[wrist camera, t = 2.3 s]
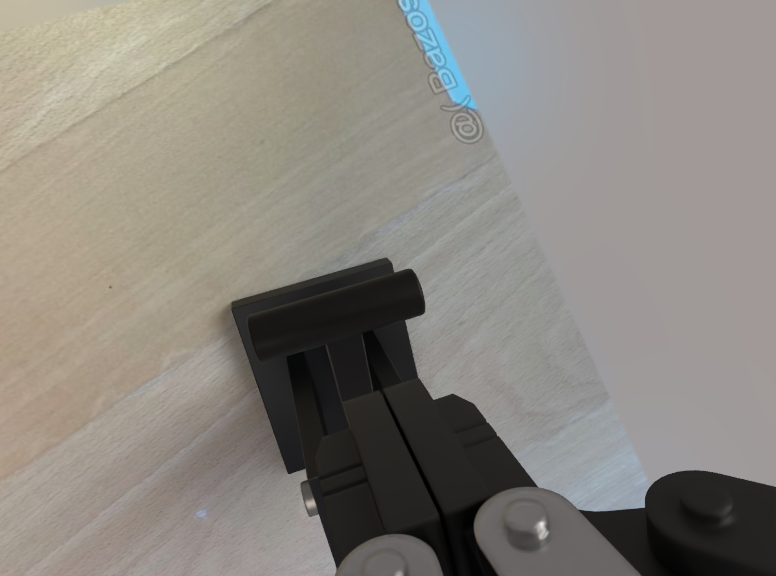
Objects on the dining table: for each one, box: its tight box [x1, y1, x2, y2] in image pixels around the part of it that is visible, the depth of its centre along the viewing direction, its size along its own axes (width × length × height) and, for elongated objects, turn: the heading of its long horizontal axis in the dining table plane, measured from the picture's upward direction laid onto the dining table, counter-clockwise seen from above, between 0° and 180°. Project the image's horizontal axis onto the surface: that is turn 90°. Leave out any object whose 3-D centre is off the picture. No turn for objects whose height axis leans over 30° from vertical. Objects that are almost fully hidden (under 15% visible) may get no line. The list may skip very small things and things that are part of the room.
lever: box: [246, 269, 425, 428], centre depth 20 cm, size 12×5×2 cm, turn 13°
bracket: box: [232, 258, 418, 564], centre depth 28 cm, size 11×9×13 cm
